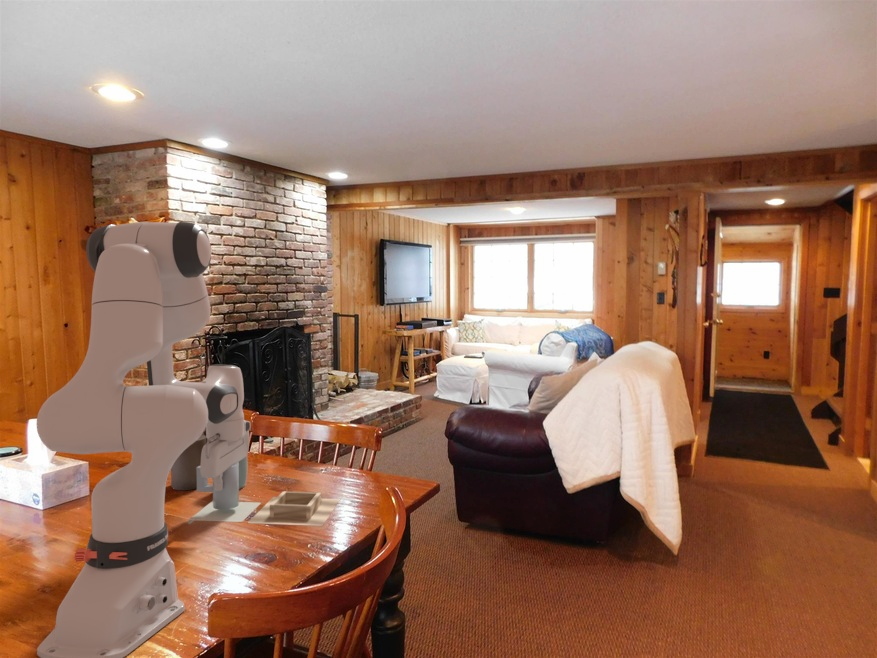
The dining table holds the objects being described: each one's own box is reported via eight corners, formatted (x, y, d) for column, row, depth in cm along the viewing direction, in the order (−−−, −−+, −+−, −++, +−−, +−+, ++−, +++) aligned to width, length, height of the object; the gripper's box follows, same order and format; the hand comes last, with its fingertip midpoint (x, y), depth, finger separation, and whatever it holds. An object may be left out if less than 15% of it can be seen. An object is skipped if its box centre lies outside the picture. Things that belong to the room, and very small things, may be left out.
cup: (238, 495, 161) (237, 459, 160) (212, 493, 163) (211, 457, 162) (252, 486, 169) (252, 452, 168) (227, 484, 170) (227, 450, 170)
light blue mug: (232, 510, 144) (232, 469, 143) (192, 508, 144) (192, 468, 144) (242, 501, 150) (242, 462, 149) (204, 500, 150) (203, 461, 150)
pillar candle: (213, 480, 174) (212, 429, 173) (197, 491, 164) (195, 437, 163) (182, 479, 175) (180, 429, 174) (163, 490, 165) (162, 436, 164)
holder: (322, 530, 139) (322, 513, 138) (247, 527, 140) (246, 510, 139) (340, 502, 156) (340, 487, 156) (273, 500, 158) (273, 485, 157)
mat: (241, 526, 140) (241, 522, 140) (188, 524, 141) (188, 520, 141) (261, 506, 153) (261, 502, 153) (212, 504, 154) (212, 500, 154)
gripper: (219, 440, 135) (220, 499, 136) (253, 421, 156) (253, 473, 156) (192, 439, 136) (193, 499, 137) (229, 420, 156) (230, 472, 157)
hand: (225, 485), depth 147 cm, fingers closed on light blue mug, 6 cm apart
